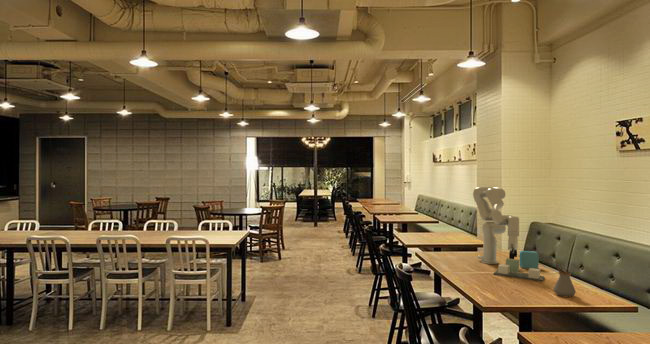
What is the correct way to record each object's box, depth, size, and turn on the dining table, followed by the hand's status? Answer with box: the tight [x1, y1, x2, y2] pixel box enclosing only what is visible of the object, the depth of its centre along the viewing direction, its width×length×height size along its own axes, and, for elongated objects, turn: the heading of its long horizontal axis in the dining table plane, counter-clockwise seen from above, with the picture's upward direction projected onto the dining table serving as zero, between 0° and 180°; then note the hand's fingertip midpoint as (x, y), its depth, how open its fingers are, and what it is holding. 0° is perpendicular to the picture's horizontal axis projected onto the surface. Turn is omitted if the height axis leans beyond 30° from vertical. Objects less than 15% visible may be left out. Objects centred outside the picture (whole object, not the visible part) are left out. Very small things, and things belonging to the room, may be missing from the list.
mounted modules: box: [497, 263, 541, 279], centre depth 293 cm, size 25×7×5 cm, turn 56°
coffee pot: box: [552, 263, 576, 297], centre depth 257 cm, size 21×12×15 cm, turn 169°
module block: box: [505, 258, 520, 273], centre depth 310 cm, size 8×4×8 cm, turn 56°
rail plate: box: [493, 268, 545, 283], centre depth 293 cm, size 30×10×2 cm, turn 56°
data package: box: [519, 250, 540, 269], centre depth 320 cm, size 12×4×12 cm, turn 82°
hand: (513, 257), depth 309 cm, fingers open, 9 cm apart
